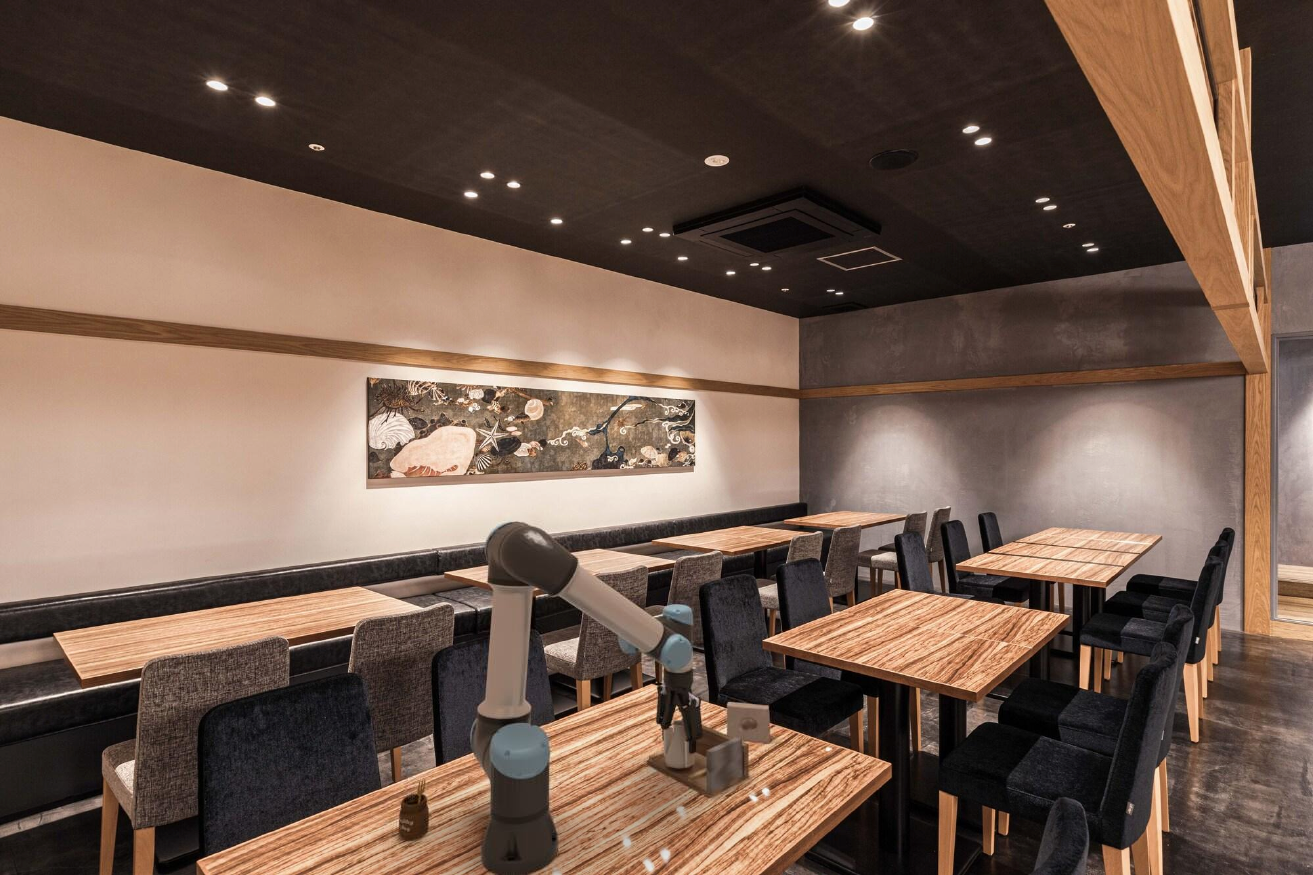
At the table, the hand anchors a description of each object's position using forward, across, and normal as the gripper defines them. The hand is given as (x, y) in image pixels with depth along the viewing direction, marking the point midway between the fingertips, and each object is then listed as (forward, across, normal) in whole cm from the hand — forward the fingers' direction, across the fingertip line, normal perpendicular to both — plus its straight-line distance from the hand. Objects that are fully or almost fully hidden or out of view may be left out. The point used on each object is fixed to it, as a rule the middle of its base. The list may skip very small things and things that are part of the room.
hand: (679, 759), depth 164 cm
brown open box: (+3, -3, -3) cm, 5 cm away
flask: (+1, 0, 0) cm, 1 cm away
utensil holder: (+3, +19, +60) cm, 63 cm away
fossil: (+3, 0, -27) cm, 27 cm away
